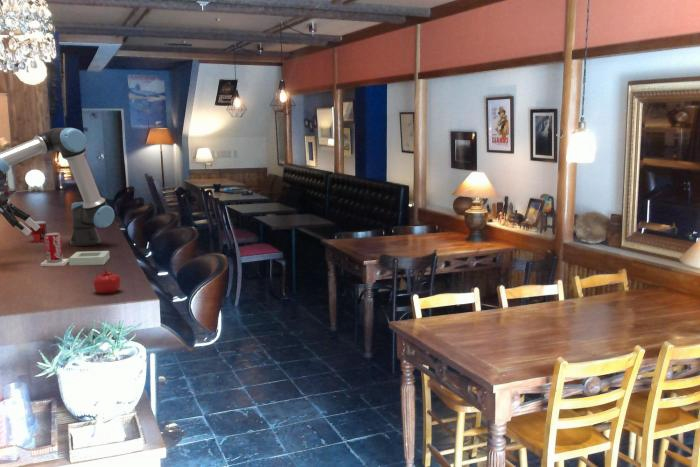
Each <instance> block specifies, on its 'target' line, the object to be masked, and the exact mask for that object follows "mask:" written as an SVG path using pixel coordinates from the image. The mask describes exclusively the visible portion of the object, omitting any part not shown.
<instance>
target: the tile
mask: <svg viewBox="0 0 700 467" xmlns="http://www.w3.org/2000/svg"><path fill="white" fill-rule="evenodd" d="M67 263H69V258H63V259H62V261H60V262H47V260H46V259H44V261H42V262H41V263H40V267H58V266H59V267H60V266H62V267H64V266H65V265H67Z"/></svg>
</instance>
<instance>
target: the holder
mask: <svg viewBox="0 0 700 467" xmlns="http://www.w3.org/2000/svg"><path fill="white" fill-rule="evenodd" d="M68 259H69V262H68V263H69V267H71V266H72V267H73V266H96V265H101V266H102V265H105V264H106V263H107V262H108V261H109V259H111V258H110V250H100V251H99V250H98V251H96V250H95V251H94V250H93V251H89V250H88V251H75V253H73V254H72V255H70V256H69V257H68Z"/></svg>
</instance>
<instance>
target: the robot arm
mask: <svg viewBox="0 0 700 467" xmlns="http://www.w3.org/2000/svg"><path fill="white" fill-rule="evenodd" d="M86 145H87V138H86V136H85V134H84V133H83V132H82V131H81V130H80V129H77V128H74V127H55V128H51V129H49V130H46V131H43V132H41V133H39V134H37V135H35V136H34V138H33V139H31V140H28V141H25V142H22V143H20V144H18V145H15V146H13V147H11V148H7V149H5V150H3V151H1V152H0V178H2V177H3V176H4V175H6V174H7V172H9V171H10V169H11V168H10V167H11V166H13V165H16V164H19V163H21V162H23V161H26V160H28V159H30V158H32V157H35V156H37V155H39V154H44V155H45V154H48V153H51V152H60V155H61V158H62V159H63V160H66V161H67V163H68V164H67V165H68V166H69V169H70V171H71V172H72V174H71V175H73V179H74V181H75V183H76V186H77V188H78V190H79V193H80V195H81V198H82V200H83V201H79V202H78V201H77V202H73V203H71V206H70V208H71V211H70V212H71V219H72V220H71V222H72V232H71V236H70V240H69V242H70V243H69V244H70V245H71V246H74V247H75V246H76V247H85V246H93V245H94V246H96V245H99V244H101V238H100V234H99V232H98V231H97V228H107V227H109V226H110V225H111V224H112V223H113V222H114V219H115V215H116V214H115V210H114V209H113V207H111V206H110V205H108V204H107V201H106V198H104V197H102V196H101V194H100V191H99V189H98V186H97V184H96V181H95V178H94V175H93V174H92V171H91V169H90V166H89V164H88V161H87V158H86V155H85V154H86V152H87V151H86V150H87V149H86V147H87V146H86ZM9 200H10V199H9V197H7V196H6V195H5V194H3V193H2V192H1V191H0V214H1V216H2V217H3V218H4V219H5V220H6V221H7V222H8V223H9V225H11V227H13V228H15V227H16V228H17V229H18V230H19V231H20V232H22V233H23V234H24V235H25V236H26V237H28V236H29V235H31V232H32V231H31V229H30V227H32V228H33V229H34V230H35V231H37V230H38V229H39V228H40V226H39V225H38V224H36V223H35V222H34V220H33V219H32V218H31V215H30V214H28V213H27V212H25V211H23V210H22V209H20V208H19V207H17V206H15V205H14V204H13V203H10V204H9V203H8V202H9ZM17 218H19V219H21V220H23V221H24V222H25V224H27V225H28V226H29V228H28V227H27V226H26V225H25V224H24V223H23V222H21V221H19V220H18V219H17Z"/></svg>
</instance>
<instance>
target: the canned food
mask: <svg viewBox="0 0 700 467" xmlns="http://www.w3.org/2000/svg"><path fill="white" fill-rule="evenodd" d="M33 221H34V220H33ZM34 222H35V223H36V224H38V225H39V226H40V228H39V229H38V230H37V231H35V230H34V229H33V228H32V227H30V226H29V229H30V230H31V231H32V232H31V233H30V238H31V239H30V240H31V243H33V242H43V243H45V242H44V237H45V234H47V232H48V231H47V223H46V221H44V220H39V221H38V220H37V221H36V220H35V221H34Z"/></svg>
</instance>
